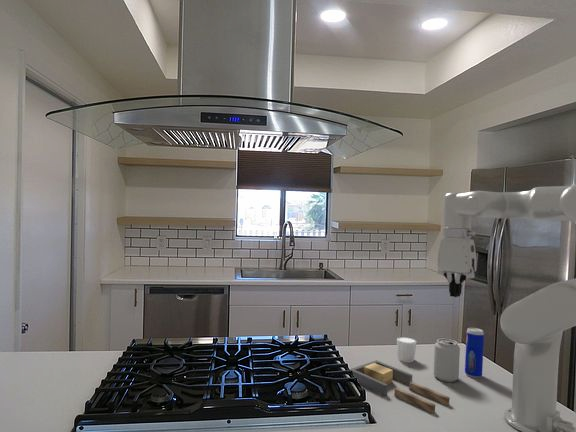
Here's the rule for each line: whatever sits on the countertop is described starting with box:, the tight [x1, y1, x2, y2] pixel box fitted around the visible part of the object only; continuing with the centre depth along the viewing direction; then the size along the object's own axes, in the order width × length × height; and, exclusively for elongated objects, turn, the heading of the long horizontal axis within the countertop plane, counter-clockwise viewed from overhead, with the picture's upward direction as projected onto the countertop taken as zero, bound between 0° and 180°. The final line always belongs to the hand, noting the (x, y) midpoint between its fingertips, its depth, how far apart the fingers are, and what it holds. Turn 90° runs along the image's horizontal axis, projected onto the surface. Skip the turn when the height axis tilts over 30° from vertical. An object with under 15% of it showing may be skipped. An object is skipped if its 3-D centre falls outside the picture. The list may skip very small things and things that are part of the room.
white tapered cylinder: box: [396, 336, 418, 363], centre depth 142 cm, size 7×7×7 cm
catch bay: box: [348, 360, 413, 397], centre depth 123 cm, size 14×13×3 cm
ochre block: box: [364, 363, 394, 385], centre depth 124 cm, size 7×5×4 cm
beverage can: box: [464, 327, 485, 379], centre depth 130 cm, size 5×5×15 cm
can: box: [433, 337, 461, 383], centre depth 127 cm, size 8×8×12 cm
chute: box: [393, 381, 451, 414], centre depth 112 cm, size 12×8×2 cm
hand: (455, 296), depth 118 cm, fingers closed
